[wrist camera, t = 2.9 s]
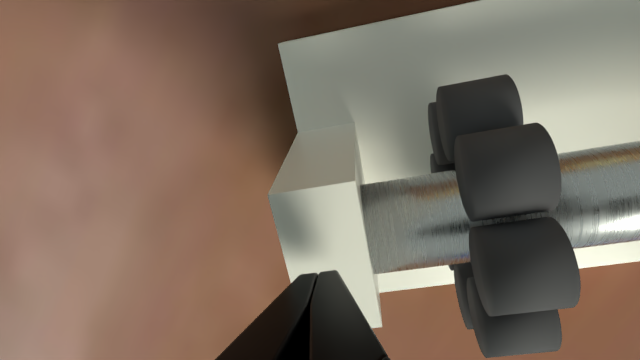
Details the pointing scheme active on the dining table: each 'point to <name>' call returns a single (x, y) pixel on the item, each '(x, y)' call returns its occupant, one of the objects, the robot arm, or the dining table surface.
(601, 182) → the pipe
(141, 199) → the dining table surface
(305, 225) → the base board
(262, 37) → the dining table surface
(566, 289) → the black lobed collar
